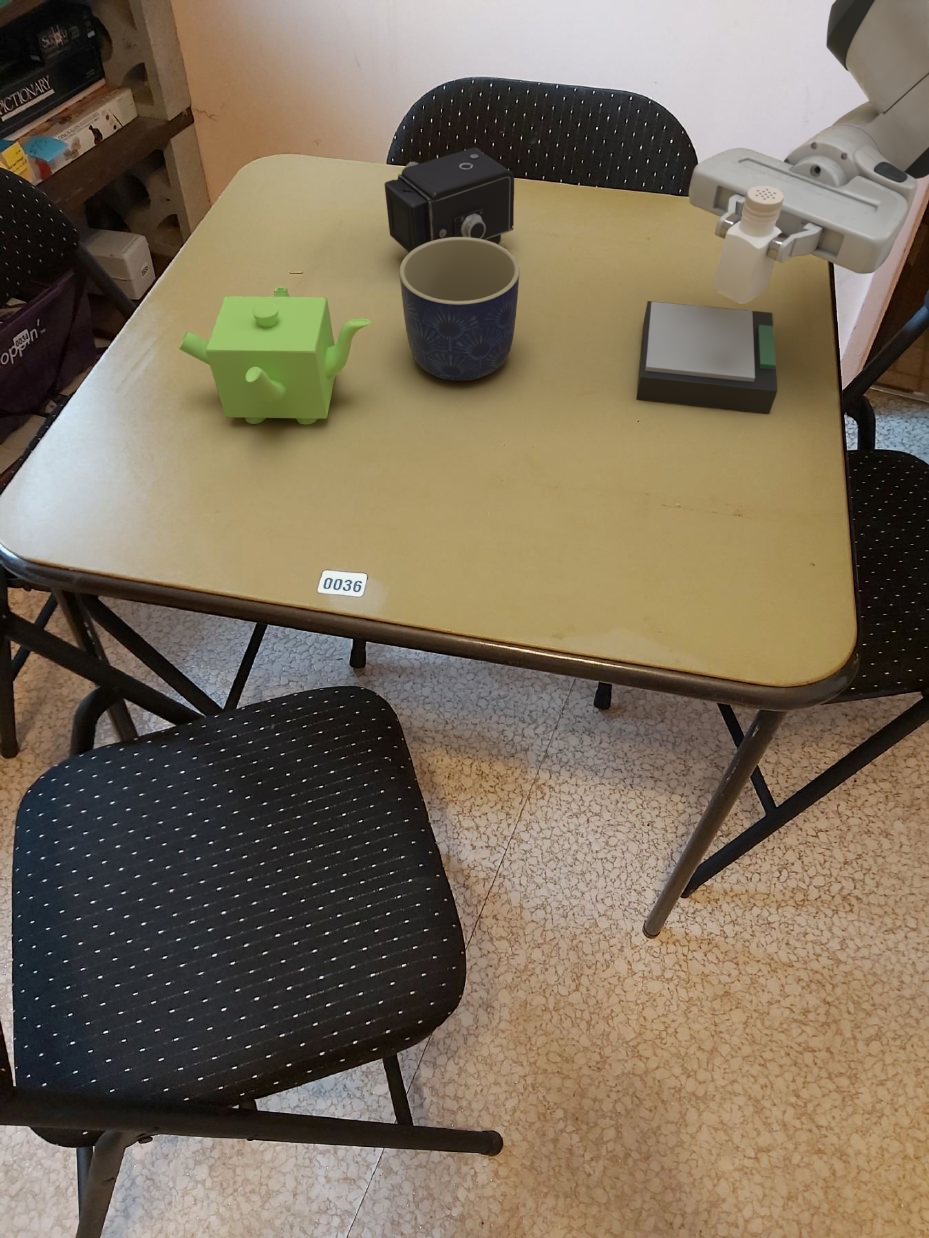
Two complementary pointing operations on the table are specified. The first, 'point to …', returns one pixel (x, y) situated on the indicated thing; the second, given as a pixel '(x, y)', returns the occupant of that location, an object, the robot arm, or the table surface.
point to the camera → (451, 200)
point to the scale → (708, 357)
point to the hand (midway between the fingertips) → (748, 241)
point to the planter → (459, 306)
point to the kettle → (274, 356)
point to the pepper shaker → (749, 247)
